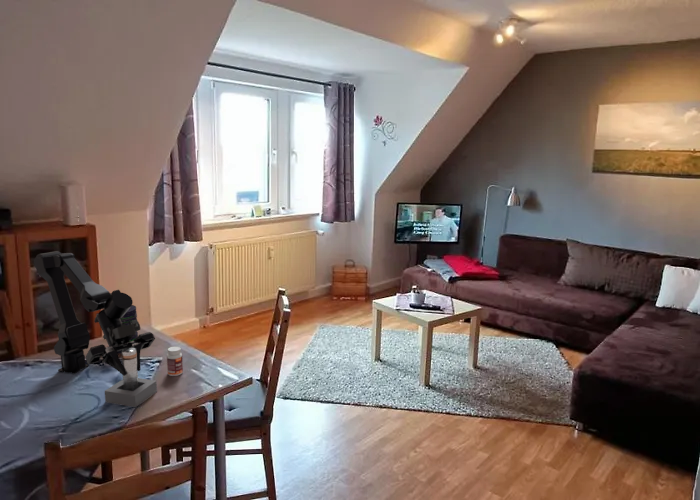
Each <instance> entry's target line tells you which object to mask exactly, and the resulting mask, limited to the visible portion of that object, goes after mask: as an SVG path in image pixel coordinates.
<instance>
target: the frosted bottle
mask: <svg viewBox="0 0 700 500" xmlns="http://www.w3.org/2000/svg"><path fill="white" fill-rule="evenodd" d="M120 356H121V363H122V365H123V367H124V369H125V372H126V375H125V376H123V375H122V380H123V386H124V390H128V391H134V390H136V389H137V388H138V378H139V375H138V374H139V371H138V370H137V352H136V349H135V348H126V349H123V350H122V351H121V353H120Z"/></svg>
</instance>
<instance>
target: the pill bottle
mask: <svg viewBox="0 0 700 500" xmlns="http://www.w3.org/2000/svg"><path fill="white" fill-rule="evenodd" d="M183 363H184V362H183V353H182V349H181V347H180V346H170V347H169V348H167V355H166V366H167V367H166V368H167V375H168V376H170V377H171V376H172V377H177V376H180V375H182V374H183V373H184V366H183Z"/></svg>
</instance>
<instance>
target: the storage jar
mask: <svg viewBox="0 0 700 500" xmlns="http://www.w3.org/2000/svg"><path fill="white" fill-rule="evenodd" d="M120 320H121V322H122V324H123V323H124V324H125V325H130V324H129V323H130V322H131V321H134V320H137V321H138V312H137V306H136V305H134V304H132V306H131V307H130V308H129V310H128V311H127V312H126V313H125V315H124V316H123V317H122V318H120ZM132 336H133V337H132V339H130V341H133V340H136V339H137V337H138V336H139V333H138V331H136V334H135V335H132ZM121 351H122V350H121ZM121 351H118V354H121Z"/></svg>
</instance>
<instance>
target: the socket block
mask: <svg viewBox="0 0 700 500" xmlns="http://www.w3.org/2000/svg"><path fill="white" fill-rule="evenodd" d="M157 392H158V386H157V380H155V379H154V380H153V379H146V378H141V377H138V388H137V389H136V390H134V391H128V390H124V386H123V379H121V380H120V381H118V382H116V383H115V384H113V385H112V386H110V387H108V388H107V389H105V390H104V400H105V403H108V404H112V405H120V406H127V407H131V408H136V407H138V406H139V405H141V404H142V403H144V402H145V401H146V400H148V399H149V398H150V397H151V396H153V395H155V393H157Z"/></svg>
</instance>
